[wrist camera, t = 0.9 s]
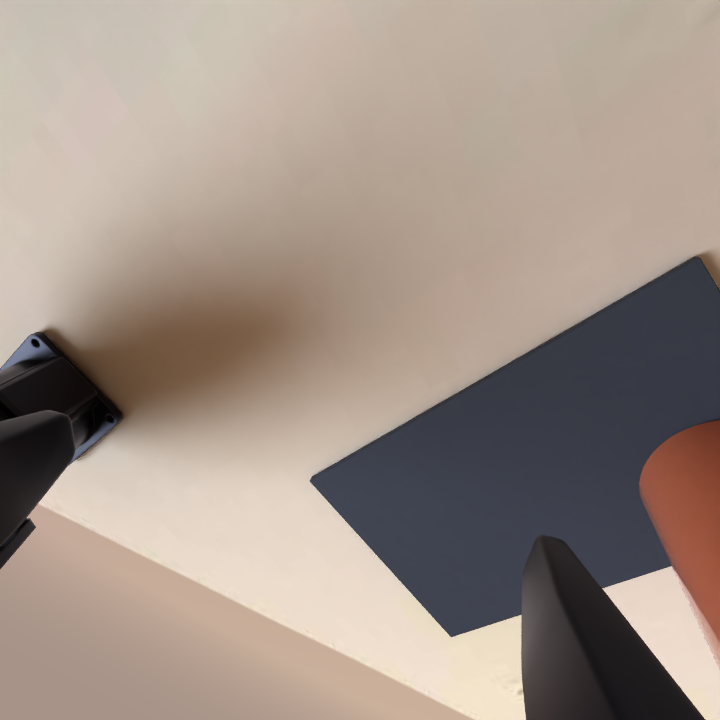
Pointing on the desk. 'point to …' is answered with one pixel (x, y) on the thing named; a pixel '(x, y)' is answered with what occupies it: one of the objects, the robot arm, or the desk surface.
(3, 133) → the desk surface
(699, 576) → the pen pot
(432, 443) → the felt mat
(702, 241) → the desk surface
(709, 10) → the desk surface
